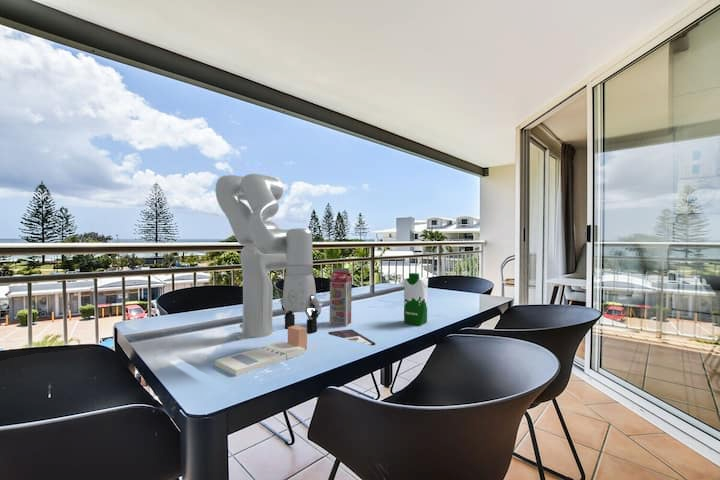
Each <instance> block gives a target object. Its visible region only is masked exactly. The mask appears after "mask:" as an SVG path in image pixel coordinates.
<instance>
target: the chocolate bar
mask: <svg viewBox="0 0 720 480" xmlns="http://www.w3.org/2000/svg"><path fill="white" fill-rule="evenodd" d="M328 334H329V335H330V336H333V337H338V338H341V339H346V340H349V341H354V342H356V343H357V342H358V343H360V344H364V345H367V346H368V345H369V346H375V345H376V342H374V341H373V340H370V339H369V338H368V337H366V336H364V335H363V334H361V333H359V332H357V331H355V330H354V329H352V328H350V329H343V330H334V331H328Z"/></svg>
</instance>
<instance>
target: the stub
mask: <svg viewBox="0 0 720 480" xmlns="http://www.w3.org/2000/svg"><path fill="white" fill-rule="evenodd" d="M264 347H266V348H269V349H272V350H274V351H277V352H280V353H283V354H285V355H286V360H290V359H292V358H295V357H299V356H302V355H304V354H305V353H306V352H305V351H306V350H307V349H308V334H307V327H304V326H299V325H297V324H295V326H291V327H288V329H287V342H286V341H278V342H275V343H274V342H273V343H272V344H271V343H270V344H267V345H265V346H264Z"/></svg>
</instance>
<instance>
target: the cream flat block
mask: <svg viewBox="0 0 720 480" xmlns="http://www.w3.org/2000/svg"><path fill="white" fill-rule="evenodd" d="M286 360H287V359H286V355H285V354H283V353H280V352H277V351H274V350H272V349H269V348H266V347H265V346H262V347H258V348H254V349H250V350H247V351H243V352H239V353H236V354H233V355H232V354H231V355H229V356H225V357H222V358H217V359H215V361H214V362H215V363H214V366H215V367H217V368H219V369H222V370H223V371H225V372H227V373H229V374H231V375H233V376H235V377H238V376H241V375H244V374H248V373H252V372H254V371H257V370H260V369H262V368H266V367H269V366H272V365H275V364H278V363H280V362H284V361H286Z"/></svg>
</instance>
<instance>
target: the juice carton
mask: <svg viewBox="0 0 720 480" xmlns="http://www.w3.org/2000/svg"><path fill="white" fill-rule="evenodd" d="M352 279H353V278H352V274H351V273H350V268H348V267H347V268H346V267H345V268H344V267H333V268H332V273H331V275H330V276H329V323H328V325H329V326H334V327H343V328H346V327H347V326H349V325H350V324H351V323H352V293H353V292H352V289H353V288H352V287H353V285H352Z"/></svg>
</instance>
